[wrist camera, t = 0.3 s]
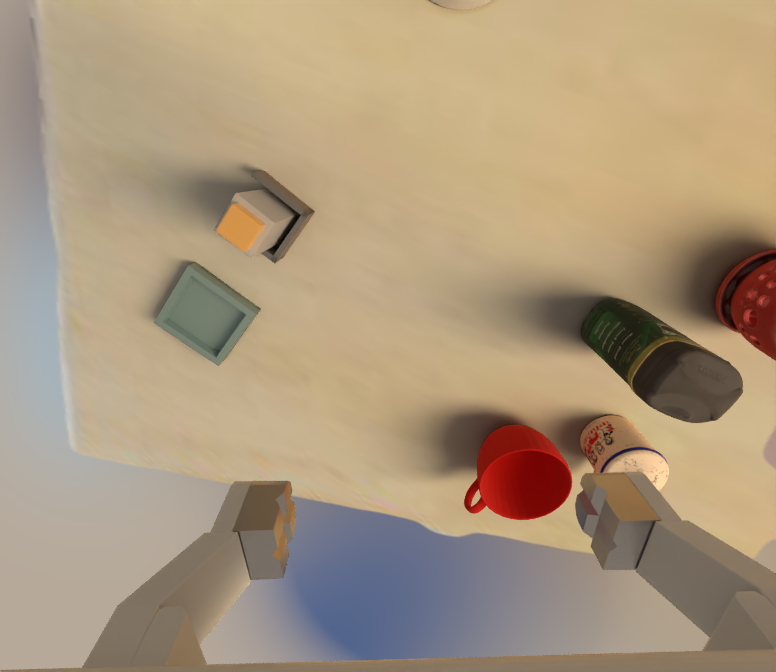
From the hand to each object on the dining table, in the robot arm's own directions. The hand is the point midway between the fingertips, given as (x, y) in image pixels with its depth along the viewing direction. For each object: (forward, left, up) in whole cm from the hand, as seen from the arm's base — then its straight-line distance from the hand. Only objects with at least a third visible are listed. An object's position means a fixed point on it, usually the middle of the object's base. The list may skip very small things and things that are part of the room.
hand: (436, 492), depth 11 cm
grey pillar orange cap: (-1, -20, -46) cm, 50 cm away
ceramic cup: (+33, +17, -47) cm, 60 cm away
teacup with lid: (+30, +33, -47) cm, 65 cm away
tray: (+14, -30, -46) cm, 57 cm away
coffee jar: (+10, +29, -47) cm, 56 cm away
